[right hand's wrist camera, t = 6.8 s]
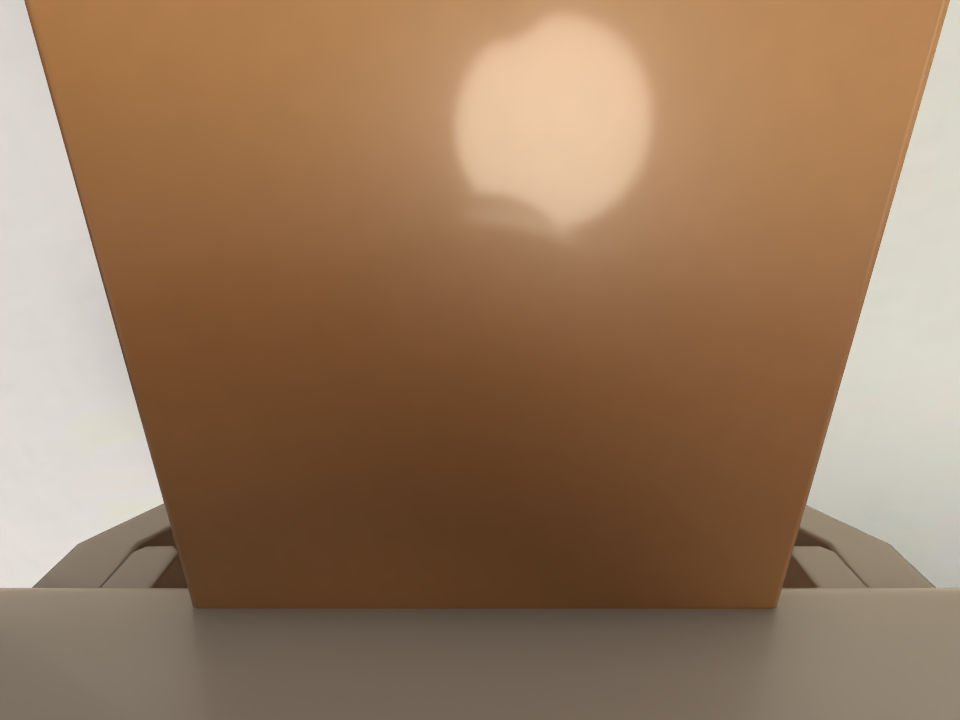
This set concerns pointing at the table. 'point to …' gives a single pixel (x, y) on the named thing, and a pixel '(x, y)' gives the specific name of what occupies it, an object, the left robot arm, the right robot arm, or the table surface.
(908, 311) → the table surface
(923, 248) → the table surface
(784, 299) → the bar
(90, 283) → the table surface
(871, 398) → the table surface
